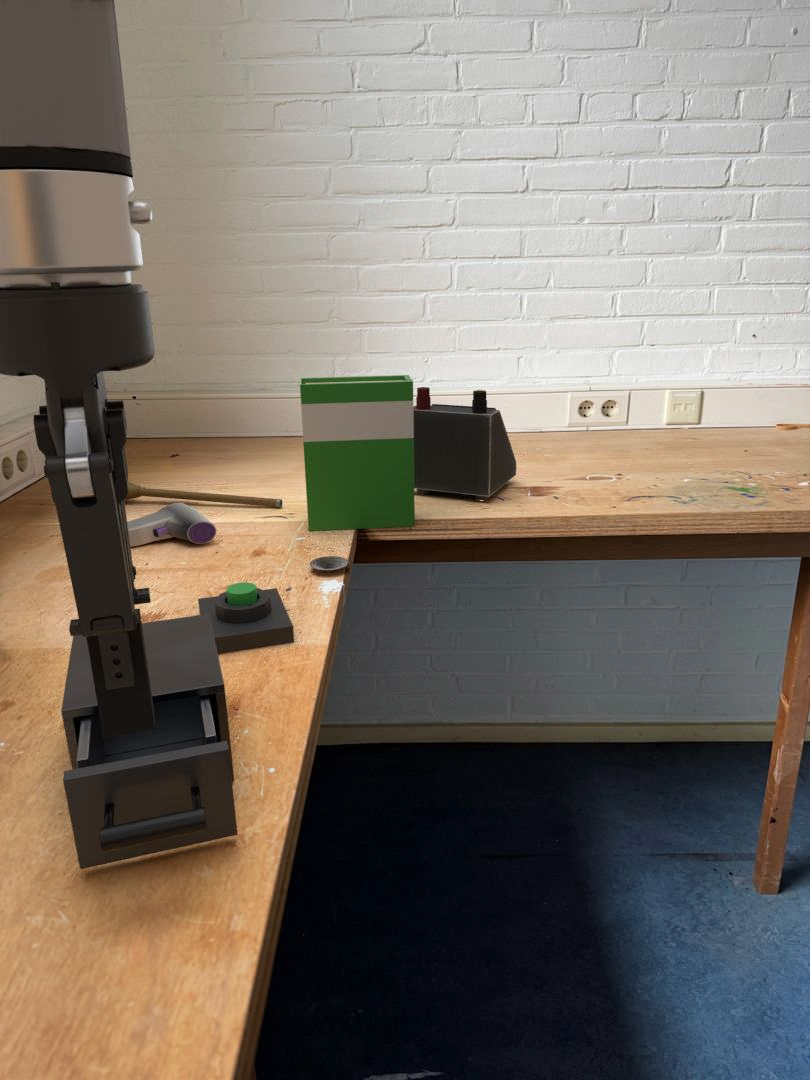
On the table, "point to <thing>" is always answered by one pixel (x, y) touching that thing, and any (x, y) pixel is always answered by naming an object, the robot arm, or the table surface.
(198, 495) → the panzerfaust
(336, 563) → the small grey dish
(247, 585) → the button
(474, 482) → the voltmeter
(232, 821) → the drawer
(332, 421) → the green cereal box
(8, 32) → the robot arm
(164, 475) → the table surface
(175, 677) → the cabinet
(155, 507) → the table surface
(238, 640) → the control block
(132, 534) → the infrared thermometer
